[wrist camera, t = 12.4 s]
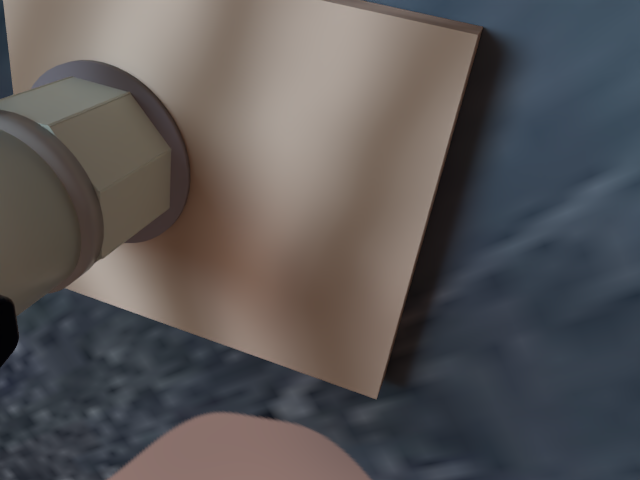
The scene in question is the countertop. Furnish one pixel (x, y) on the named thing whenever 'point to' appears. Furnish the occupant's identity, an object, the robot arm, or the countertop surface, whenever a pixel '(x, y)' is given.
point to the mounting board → (270, 162)
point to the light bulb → (73, 182)
